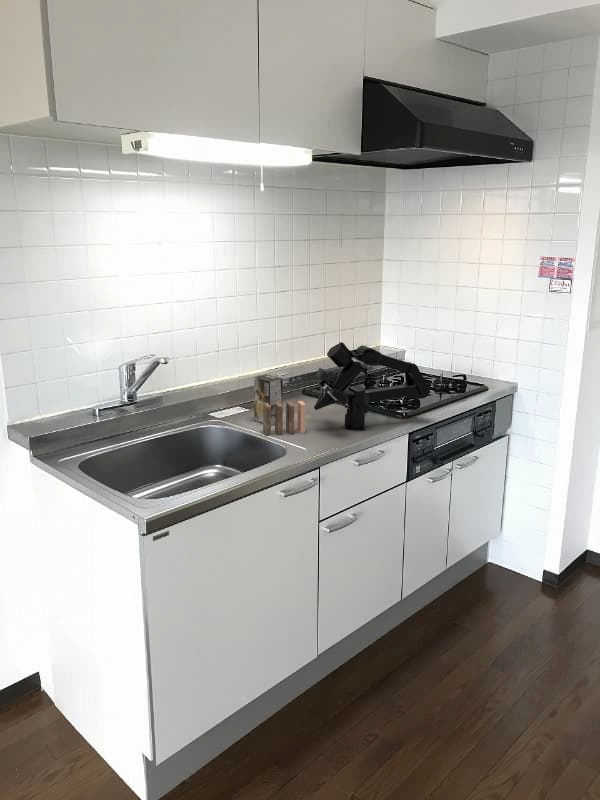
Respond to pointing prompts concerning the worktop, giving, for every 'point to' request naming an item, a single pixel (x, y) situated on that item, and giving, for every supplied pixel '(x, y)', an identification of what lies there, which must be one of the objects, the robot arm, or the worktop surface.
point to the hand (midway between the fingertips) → (314, 409)
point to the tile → (301, 417)
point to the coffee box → (267, 395)
